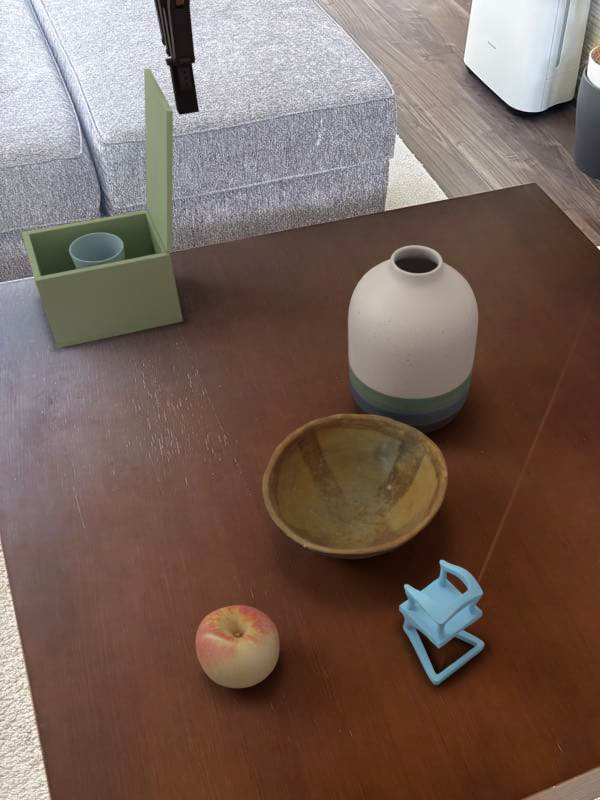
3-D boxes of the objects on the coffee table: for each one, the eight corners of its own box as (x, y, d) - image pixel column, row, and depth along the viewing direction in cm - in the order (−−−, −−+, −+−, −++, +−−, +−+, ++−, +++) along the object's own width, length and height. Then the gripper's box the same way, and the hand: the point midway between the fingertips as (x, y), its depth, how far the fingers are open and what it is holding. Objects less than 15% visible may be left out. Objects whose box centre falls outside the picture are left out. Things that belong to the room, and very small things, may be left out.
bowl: (480, 537, 109) (490, 484, 101) (339, 635, 99) (337, 584, 91) (370, 441, 119) (371, 386, 111) (231, 522, 109) (221, 467, 101)
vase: (393, 352, 131) (398, 206, 112) (488, 398, 125) (511, 252, 107) (325, 414, 122) (318, 266, 103) (424, 466, 116) (437, 320, 97)
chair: (436, 602, 102) (443, 539, 93) (485, 648, 99) (498, 587, 89) (387, 638, 99) (390, 576, 90) (435, 687, 95) (444, 628, 86)
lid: (166, 110, 109) (172, 111, 110) (144, 68, 116) (150, 68, 117) (166, 252, 123) (172, 251, 124) (146, 206, 131) (152, 206, 131)
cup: (128, 286, 137) (113, 227, 129) (144, 313, 133) (130, 253, 125) (81, 299, 134) (62, 239, 126) (96, 327, 130) (78, 267, 122)
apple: (193, 648, 97) (182, 608, 91) (268, 623, 100) (262, 582, 93) (215, 712, 92) (204, 675, 86) (293, 684, 95) (289, 646, 89)
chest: (58, 349, 128) (34, 280, 119) (44, 300, 135) (21, 231, 126) (183, 322, 133) (170, 254, 124) (163, 276, 140) (149, 209, 131)
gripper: (109, -114, 101) (149, 93, 119) (133, -78, 93) (171, 137, 112) (173, -119, 103) (202, 86, 121) (202, -84, 95) (228, 128, 114)
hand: (187, 110), depth 116 cm, fingers closed
